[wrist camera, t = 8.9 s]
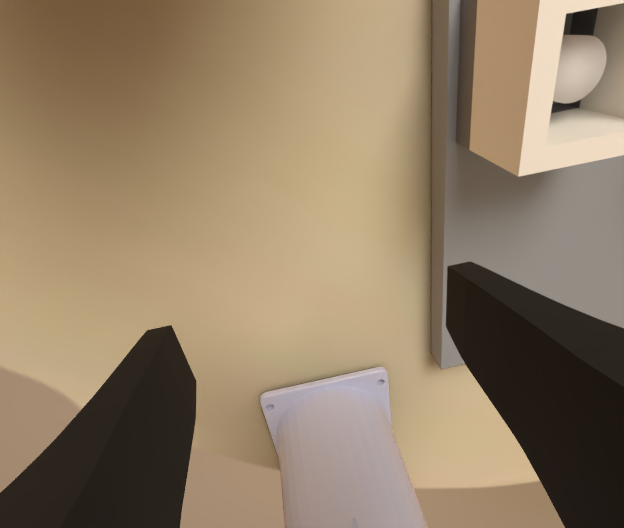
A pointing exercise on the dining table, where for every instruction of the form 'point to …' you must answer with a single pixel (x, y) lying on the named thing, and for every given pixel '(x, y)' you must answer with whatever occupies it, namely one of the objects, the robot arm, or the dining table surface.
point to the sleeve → (536, 84)
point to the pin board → (523, 200)
